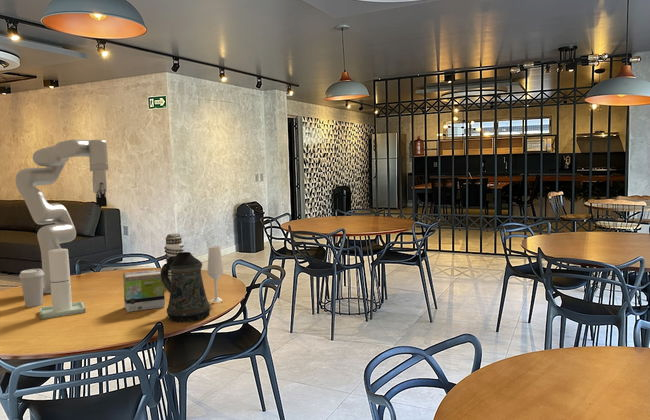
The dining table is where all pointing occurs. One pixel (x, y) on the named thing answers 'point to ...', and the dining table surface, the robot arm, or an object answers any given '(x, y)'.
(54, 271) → the cylindrical container
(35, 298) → the coffee cup
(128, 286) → the tea box
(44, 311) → the tray
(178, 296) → the beer stein
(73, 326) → the dining table surface
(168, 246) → the decorative candle
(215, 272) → the champagne flute
